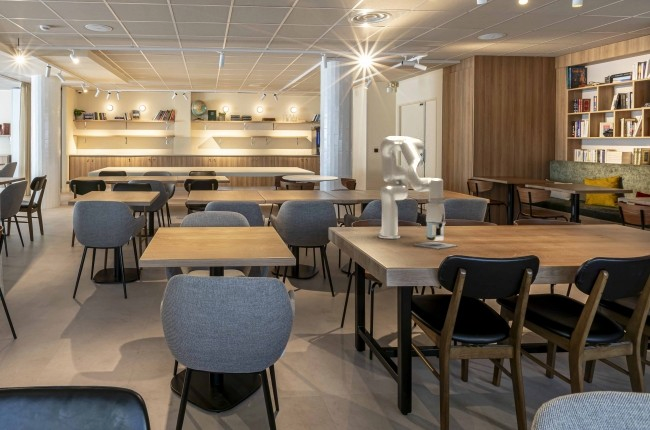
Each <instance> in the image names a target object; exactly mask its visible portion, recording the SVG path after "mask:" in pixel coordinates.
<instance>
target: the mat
mask: <svg viewBox="0 0 650 430" xmlns="http://www.w3.org/2000/svg"><path fill="white" fill-rule="evenodd" d="M412 246H415V247H420V248H427V249H432V250H445V249H451V248H456V247H458V245H456V244H450V243H446V242H445V243H443V242H440V241H427V242H419V243H413V244H412Z"/></svg>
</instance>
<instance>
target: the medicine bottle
mask: <svg viewBox="0 0 650 430" xmlns="http://www.w3.org/2000/svg"><path fill="white" fill-rule="evenodd" d="M425 234H426V239H425V240H426V241H428V242H442V241H444V236H445V235H444V236H439V237H432V238H430V237H427V233H425Z"/></svg>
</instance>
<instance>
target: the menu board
mask: <svg viewBox="0 0 650 430" xmlns="http://www.w3.org/2000/svg"><path fill="white" fill-rule="evenodd" d="M436 228H437V223H435V222H434V223H427V222H426V234H427V237H430V238H432V237H439V236H445V224H444V225H443V226H442V228H441V235H438V236H437V235H436Z"/></svg>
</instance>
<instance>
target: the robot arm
mask: <svg viewBox="0 0 650 430" xmlns="http://www.w3.org/2000/svg"><path fill="white" fill-rule="evenodd" d="M379 147H380V150H379V151H380V155H381V169H382V171H381V175H382V176H381V177H382V180H383V181H384V182H387V183H395V184H384V185H383V186H382V187H381V188H380V191H379V192H380V193H379V195H380V200H381V229H378V230H377V233H378V238H380V239H387V240H389V239H391V240H392V239H401V234H399V232H398V228H399V227H398V226H399V224H398V223H399V219H398V218H399V208H398V204H397V202H396V201H403V200H405V199H407V198H408V196H409V184H410V186H411V188H412V190H414V191H415V192H418V193H421V192H428V199H427V201H428V203H427V207H426V213H425V215H426V216H425V222H426V224H427V223H434V222H435V223H437V228H436V235H437V236H438V235H441V228H442V226H443V225H444V226H445V225H446V210H445V204H444V180H443V178H437V177H436V178H435V177H419V175H418V172H417V169H418V168H419V167H421V166H422V165H423V162H424V159H423V157H422V155H421V154H423V152H424V149H425V145H424V143H423V141H422V140H420V139H418V138H415V137H411V136H402V135H401V136H399V135H389V136H387V137H384V138H382V140H381V142H380V146H379ZM394 151H395V152H401V153H402V156H403V157H404V159H405V162H406V164H407V166H408V169H406V167H405V166H403V165H398V164H397V157H396V154H395V153H394Z"/></svg>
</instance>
